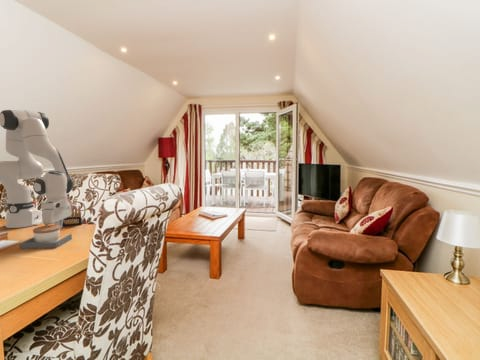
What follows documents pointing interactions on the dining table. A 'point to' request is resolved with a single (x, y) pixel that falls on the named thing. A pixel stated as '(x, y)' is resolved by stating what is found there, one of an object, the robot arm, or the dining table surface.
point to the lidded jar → (46, 233)
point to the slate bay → (44, 243)
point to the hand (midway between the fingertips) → (59, 228)
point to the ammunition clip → (73, 218)
